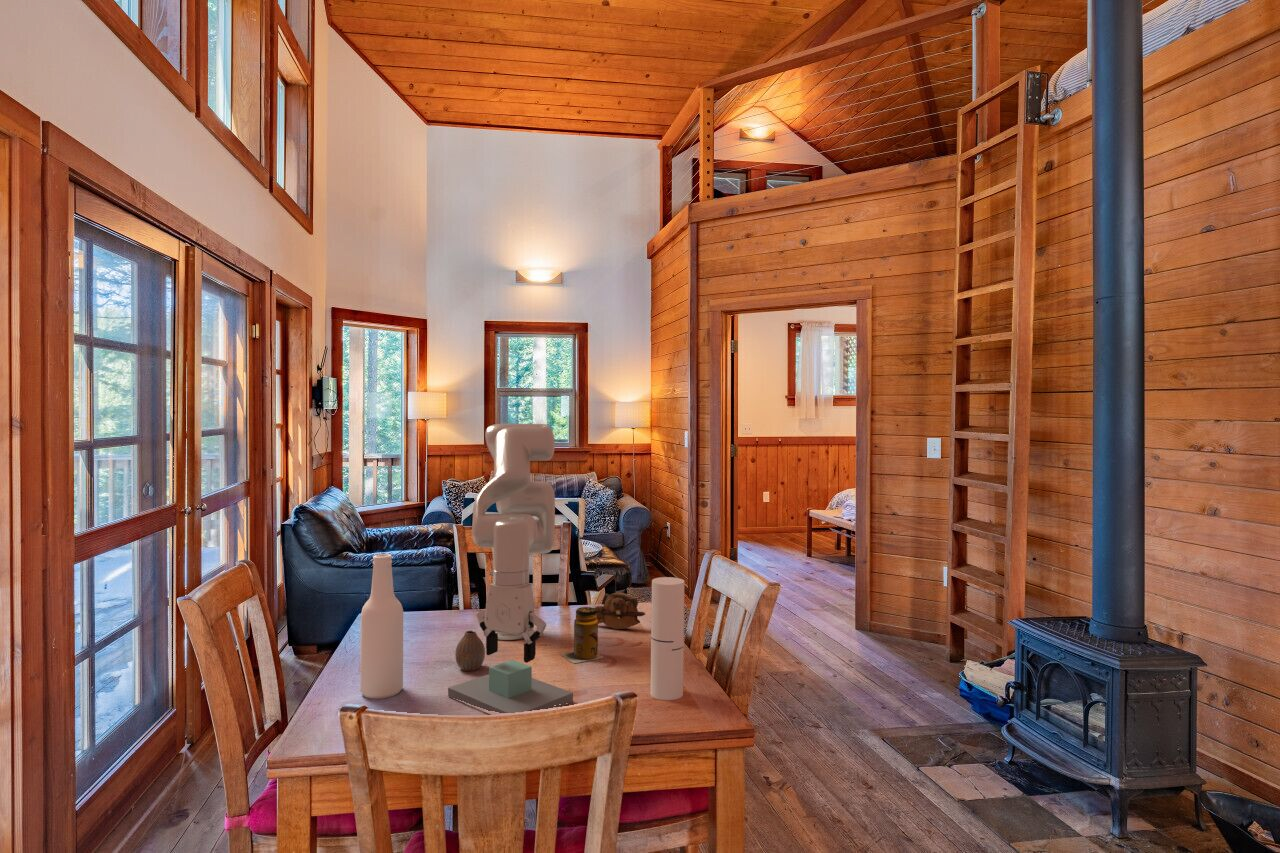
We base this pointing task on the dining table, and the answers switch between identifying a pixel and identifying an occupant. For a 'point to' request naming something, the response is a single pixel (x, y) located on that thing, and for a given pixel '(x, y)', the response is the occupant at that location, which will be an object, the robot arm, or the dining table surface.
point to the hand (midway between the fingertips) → (510, 656)
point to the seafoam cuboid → (510, 678)
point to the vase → (470, 652)
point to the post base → (531, 700)
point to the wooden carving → (618, 611)
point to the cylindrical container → (667, 638)
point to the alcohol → (381, 635)
